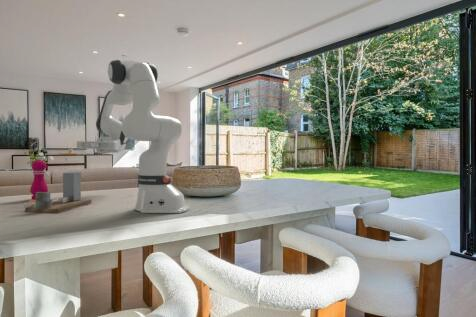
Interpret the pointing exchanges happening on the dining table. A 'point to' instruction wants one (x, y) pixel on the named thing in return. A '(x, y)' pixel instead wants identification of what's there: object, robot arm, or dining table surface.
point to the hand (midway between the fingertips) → (89, 145)
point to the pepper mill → (38, 178)
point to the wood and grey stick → (35, 201)
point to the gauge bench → (53, 204)
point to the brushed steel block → (71, 187)
